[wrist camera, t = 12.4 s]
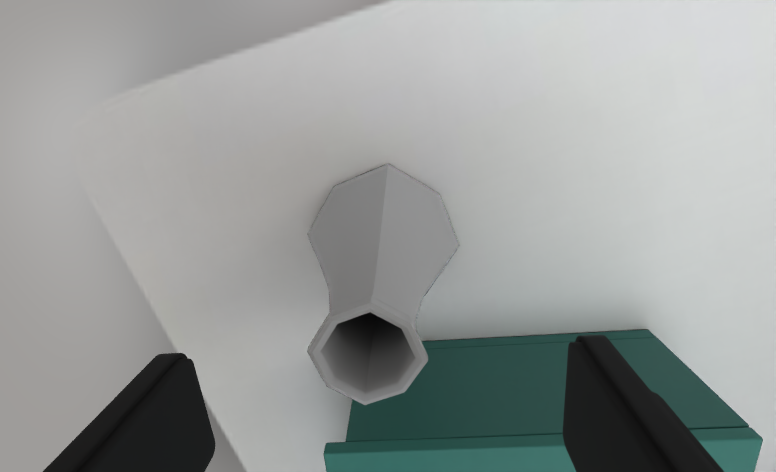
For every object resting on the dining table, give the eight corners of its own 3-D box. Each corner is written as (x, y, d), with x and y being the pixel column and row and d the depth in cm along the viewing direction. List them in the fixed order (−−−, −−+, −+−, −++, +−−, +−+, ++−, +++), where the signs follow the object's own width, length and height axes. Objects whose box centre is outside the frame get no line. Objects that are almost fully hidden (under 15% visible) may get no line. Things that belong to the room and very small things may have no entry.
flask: (283, 230, 21) (185, 343, 11) (390, 135, 19) (377, 174, 10) (377, 325, 22) (359, 492, 13) (484, 245, 21) (551, 370, 11)
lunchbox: (380, 496, 27) (372, 624, 20) (361, 344, 23) (345, 441, 16) (626, 488, 26) (700, 619, 19) (648, 328, 22) (750, 425, 16)
